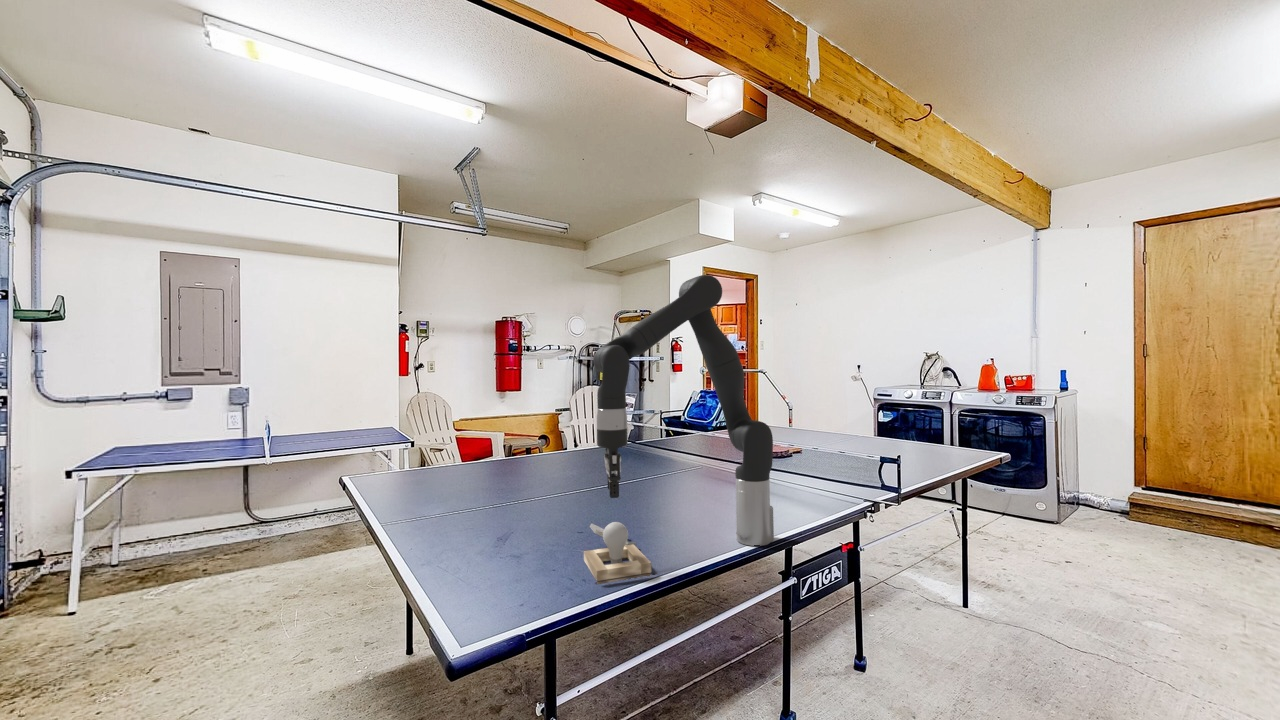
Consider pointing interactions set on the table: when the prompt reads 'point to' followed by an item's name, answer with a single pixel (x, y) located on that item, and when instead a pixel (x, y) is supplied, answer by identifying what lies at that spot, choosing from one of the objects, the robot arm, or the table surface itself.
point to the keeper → (600, 531)
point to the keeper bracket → (632, 543)
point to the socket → (617, 564)
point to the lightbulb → (615, 540)
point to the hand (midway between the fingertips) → (613, 493)
